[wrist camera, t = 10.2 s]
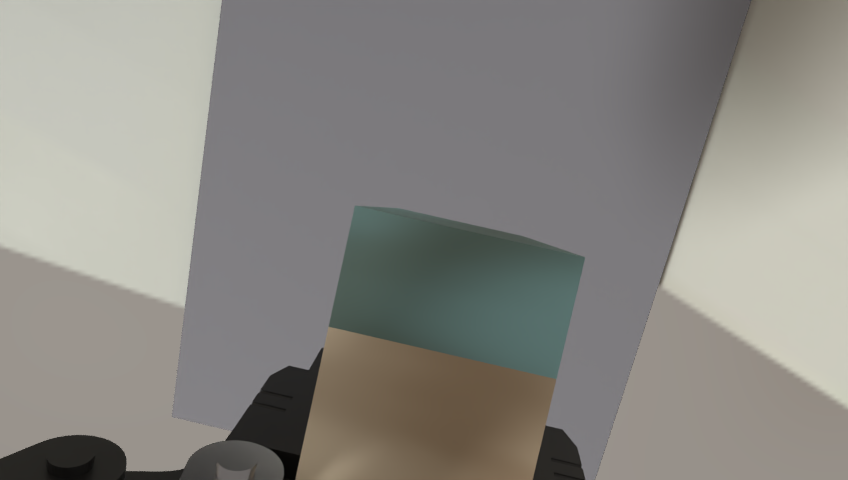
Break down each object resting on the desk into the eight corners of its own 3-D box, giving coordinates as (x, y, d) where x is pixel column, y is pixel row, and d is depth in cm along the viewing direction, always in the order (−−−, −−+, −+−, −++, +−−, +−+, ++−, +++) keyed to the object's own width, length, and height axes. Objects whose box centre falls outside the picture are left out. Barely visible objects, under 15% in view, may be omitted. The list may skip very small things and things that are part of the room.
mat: (175, 412, 31) (171, 416, 31) (248, -189, 25) (245, -193, 24) (582, 508, 31) (583, 514, 31) (772, -79, 24) (777, -81, 24)
